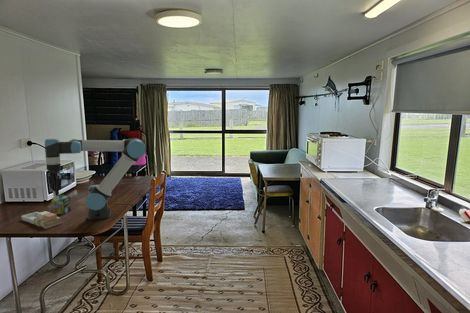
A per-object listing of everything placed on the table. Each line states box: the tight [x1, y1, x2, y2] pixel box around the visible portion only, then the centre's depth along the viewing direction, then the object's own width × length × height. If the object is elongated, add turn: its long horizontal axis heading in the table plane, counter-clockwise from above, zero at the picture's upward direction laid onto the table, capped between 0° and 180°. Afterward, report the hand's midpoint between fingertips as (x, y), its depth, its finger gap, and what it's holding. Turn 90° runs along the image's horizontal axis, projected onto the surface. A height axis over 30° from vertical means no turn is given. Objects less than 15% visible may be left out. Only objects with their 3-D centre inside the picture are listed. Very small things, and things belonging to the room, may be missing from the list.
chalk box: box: [50, 192, 72, 215], centre depth 216 cm, size 9×9×15 cm
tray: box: [21, 211, 40, 225], centre depth 201 cm, size 16×10×3 cm, turn 61°
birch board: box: [33, 216, 63, 230], centre depth 194 cm, size 14×10×4 cm
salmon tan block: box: [44, 212, 58, 221], centre depth 191 cm, size 6×5×3 cm
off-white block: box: [38, 210, 51, 219], centre depth 195 cm, size 6×5×3 cm
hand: (56, 200), depth 185 cm, fingers closed
